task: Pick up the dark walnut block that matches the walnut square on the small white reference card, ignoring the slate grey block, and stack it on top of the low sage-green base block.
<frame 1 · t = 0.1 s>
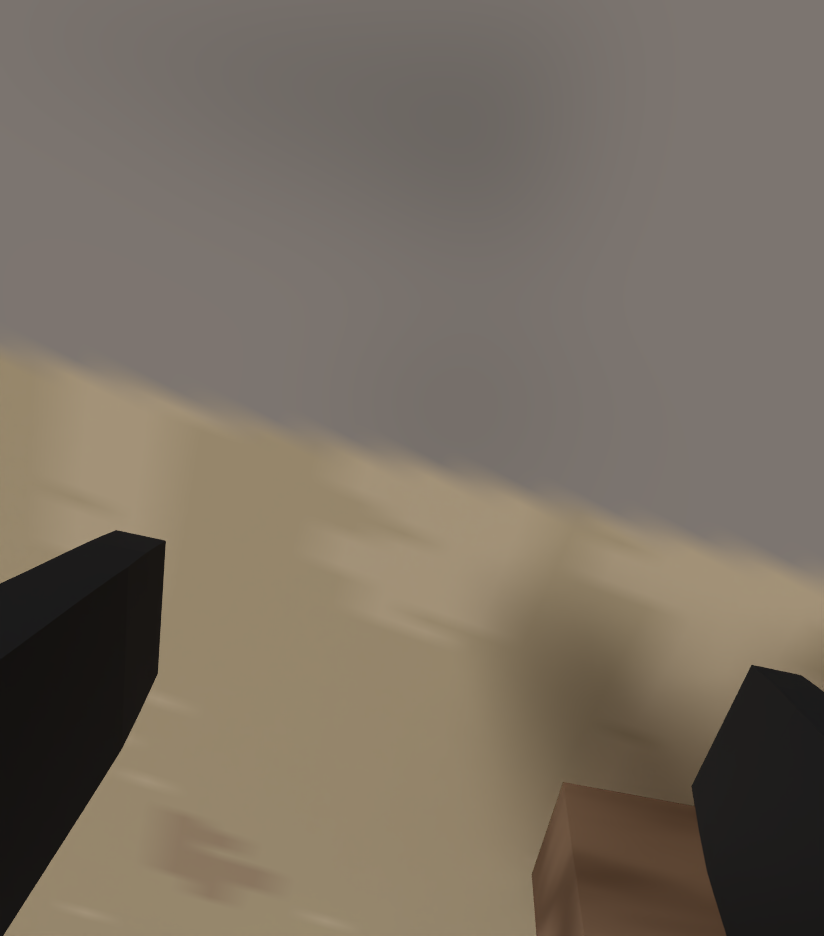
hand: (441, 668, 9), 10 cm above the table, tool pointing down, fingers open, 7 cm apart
walnut block: (612, 841, 24), on the table
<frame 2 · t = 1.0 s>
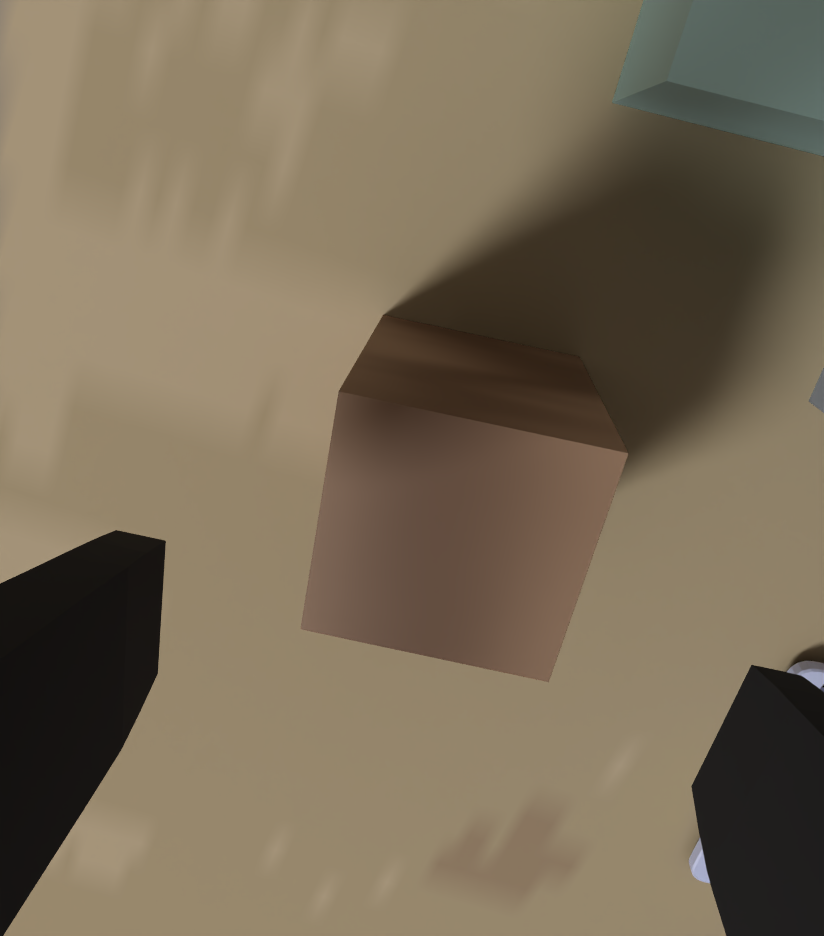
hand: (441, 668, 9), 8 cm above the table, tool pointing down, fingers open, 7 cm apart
walnut block: (459, 427, 17), on the table
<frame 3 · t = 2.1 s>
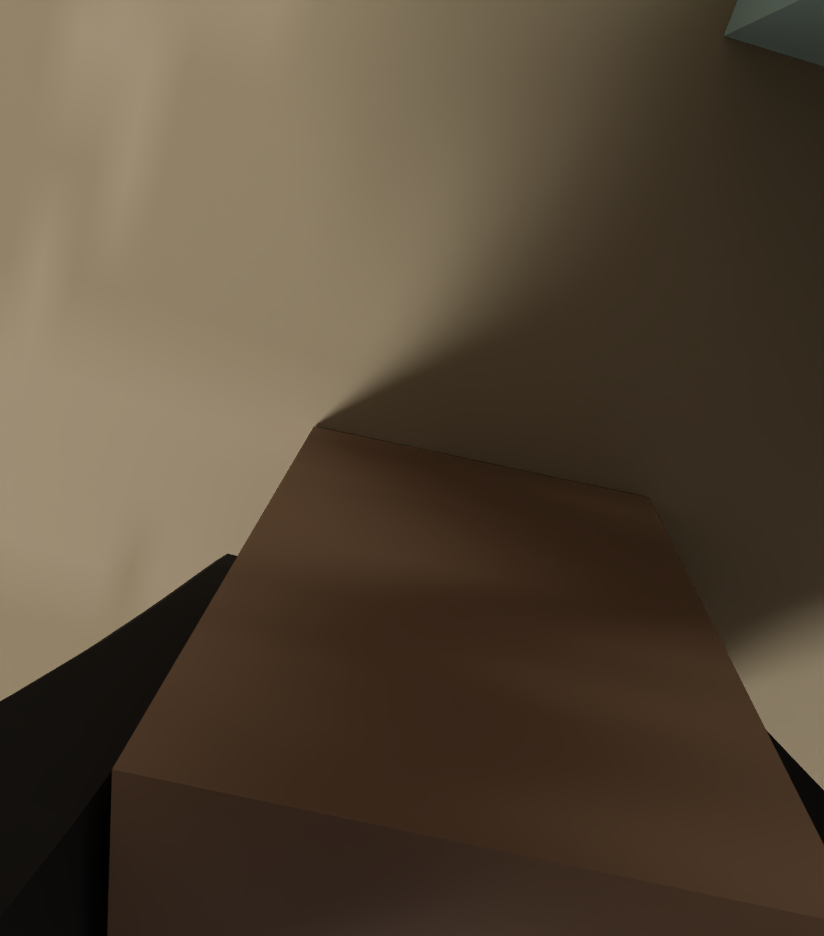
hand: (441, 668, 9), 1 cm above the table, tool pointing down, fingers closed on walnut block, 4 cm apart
walnut block: (445, 601, 10), on the table, touching gripper
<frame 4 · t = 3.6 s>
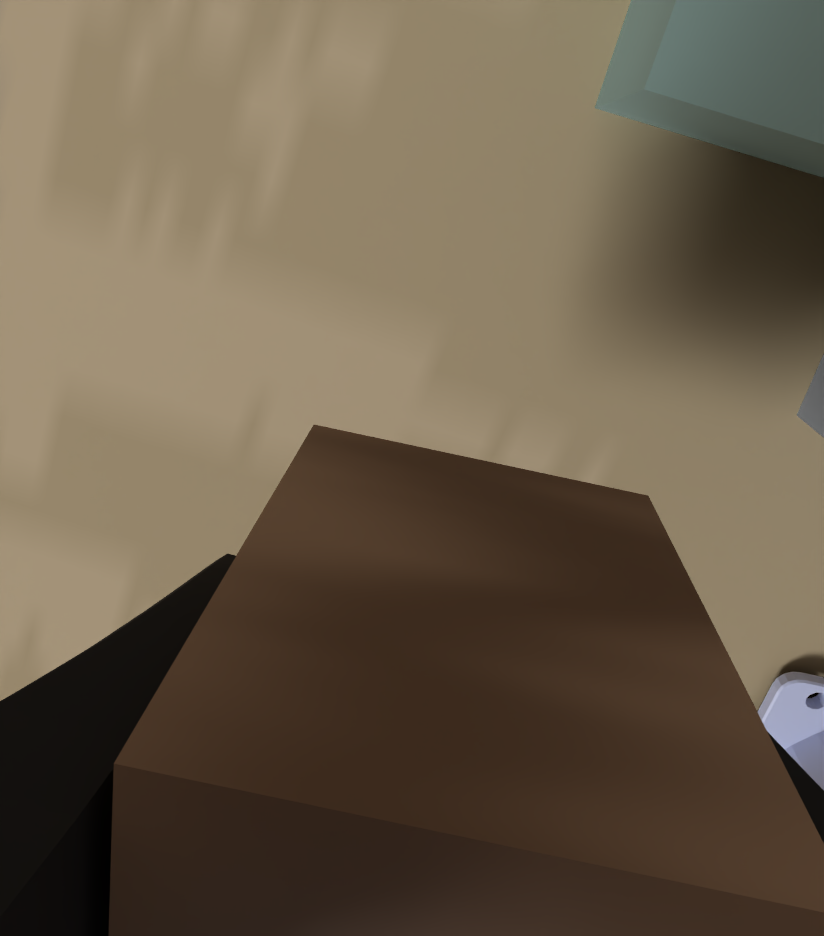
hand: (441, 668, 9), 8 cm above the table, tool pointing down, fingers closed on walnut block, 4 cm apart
walnut block: (445, 599, 10), point 7 cm above the table, touching gripper
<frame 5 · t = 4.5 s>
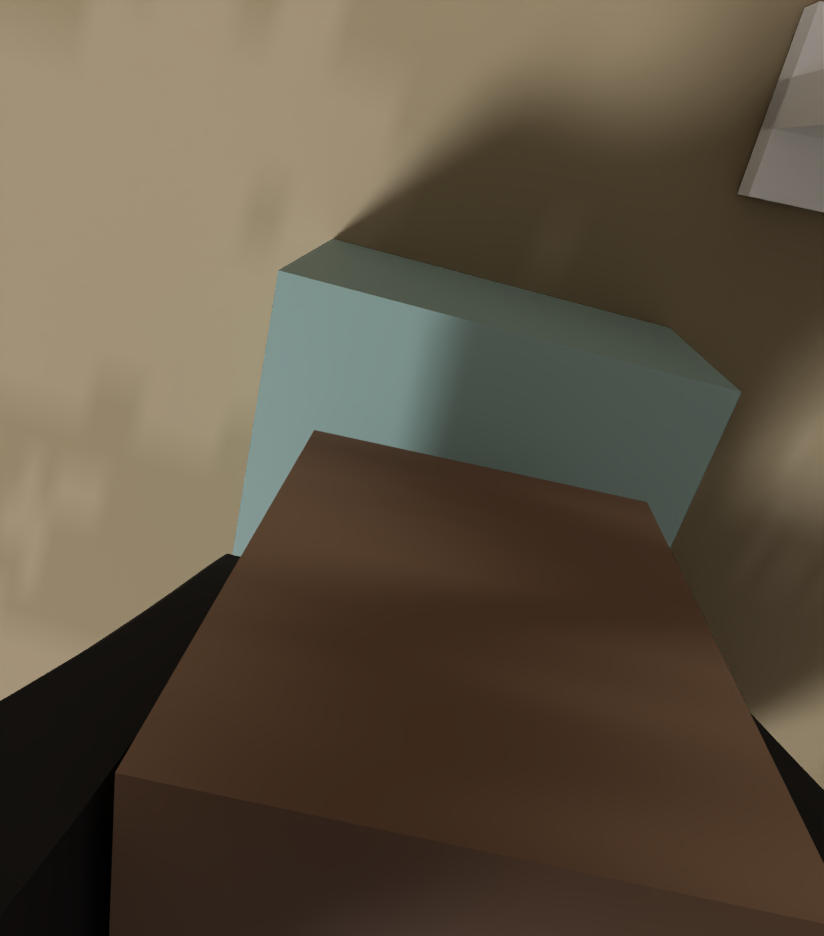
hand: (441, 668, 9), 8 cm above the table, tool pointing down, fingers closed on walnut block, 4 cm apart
base block: (456, 436, 16), on the table
walnut block: (444, 604, 10), point 6 cm above the table, touching gripper
when the fingers open (7 cm above the table, at t = 5.1 s): walnut block drops 1 cm, resting on base block.
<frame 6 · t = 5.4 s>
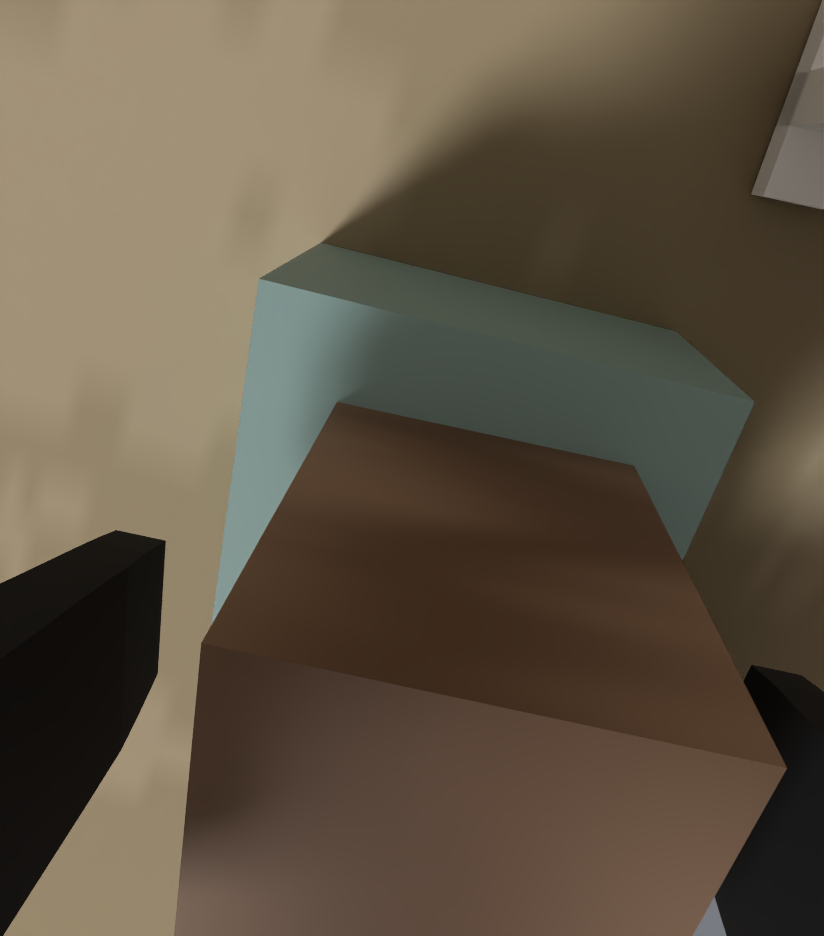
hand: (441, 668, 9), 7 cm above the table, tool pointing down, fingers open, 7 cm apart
base block: (454, 446, 15), on the table, touching walnut block
grey block: (582, 708, 18), on the table
walnut block: (452, 561, 11), point 4 cm above the table, touching base block
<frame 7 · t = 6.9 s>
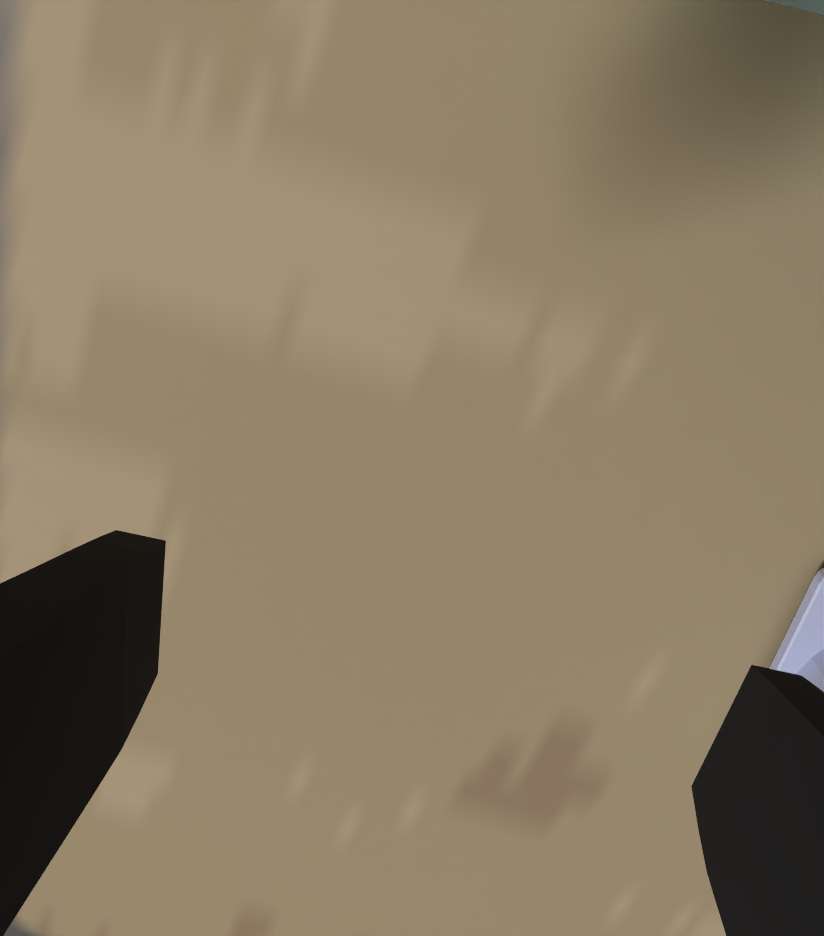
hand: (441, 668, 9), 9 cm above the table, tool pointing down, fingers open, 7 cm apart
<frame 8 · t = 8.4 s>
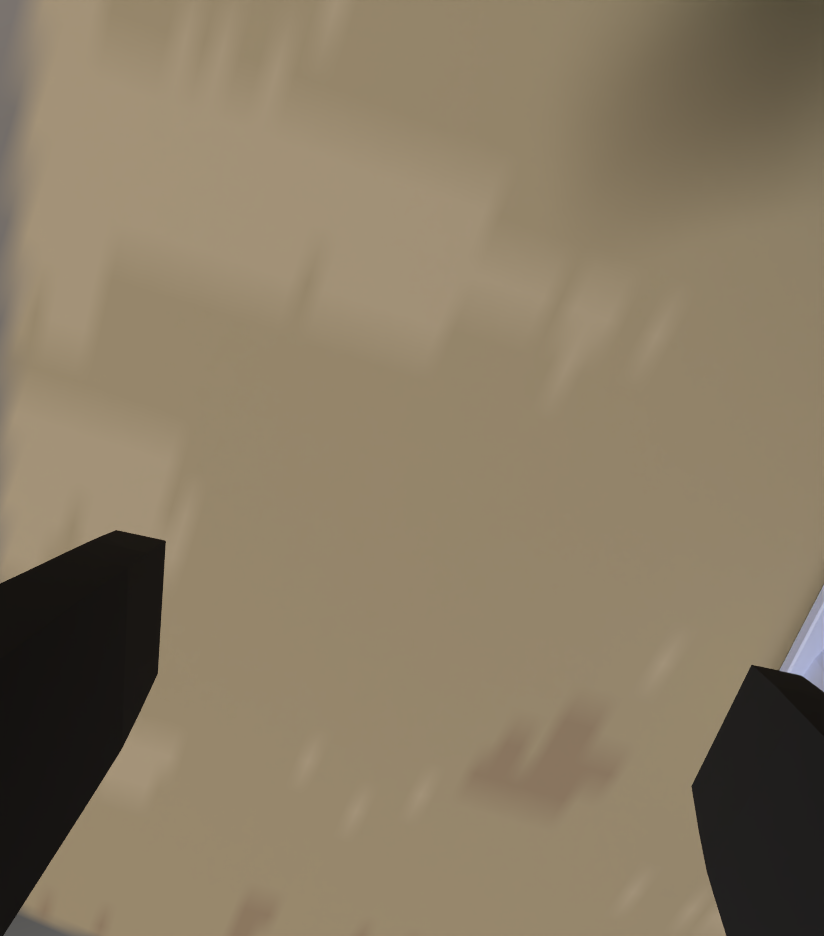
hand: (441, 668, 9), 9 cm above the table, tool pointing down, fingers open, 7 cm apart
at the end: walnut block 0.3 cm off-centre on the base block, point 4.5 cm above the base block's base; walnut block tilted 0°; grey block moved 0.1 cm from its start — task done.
